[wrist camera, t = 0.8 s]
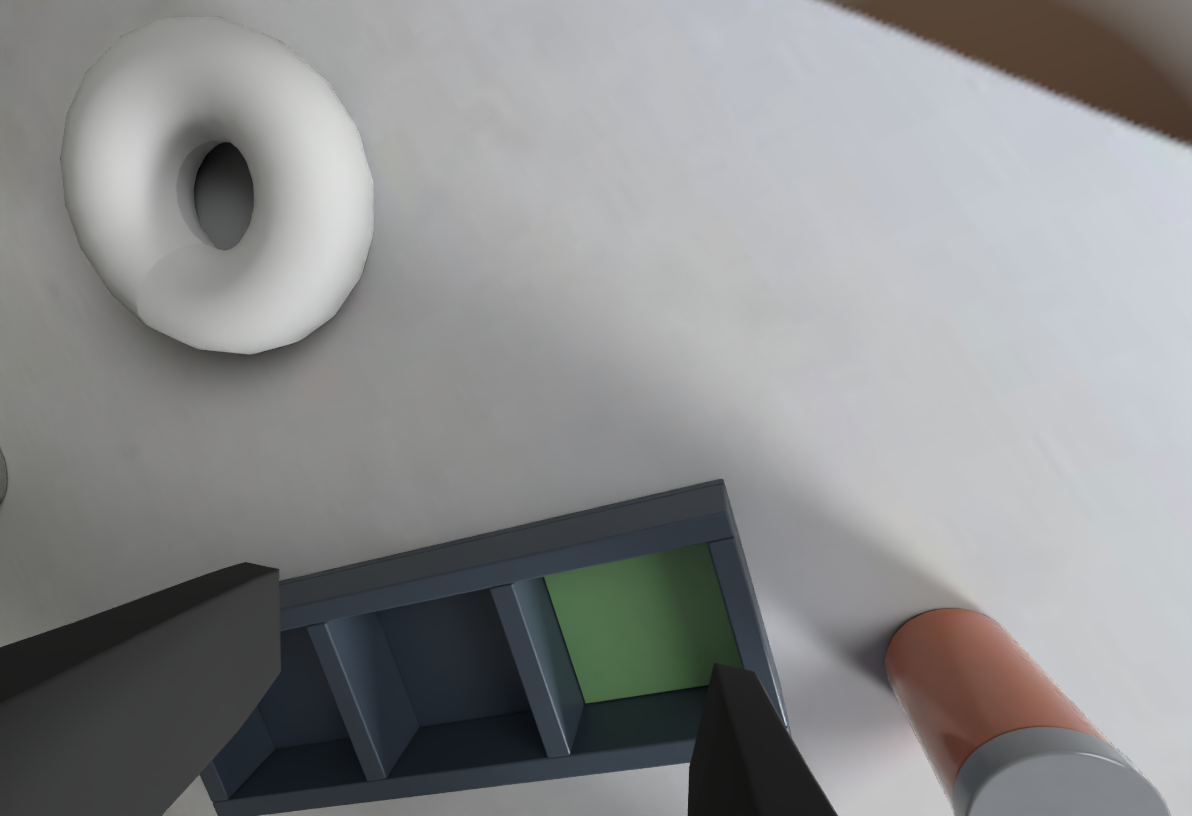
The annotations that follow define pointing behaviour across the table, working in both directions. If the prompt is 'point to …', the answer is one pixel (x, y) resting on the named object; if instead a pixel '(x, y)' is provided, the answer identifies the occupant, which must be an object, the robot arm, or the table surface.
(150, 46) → the donut
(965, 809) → the salt shaker
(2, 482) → the beer can
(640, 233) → the table surface
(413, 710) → the tray
